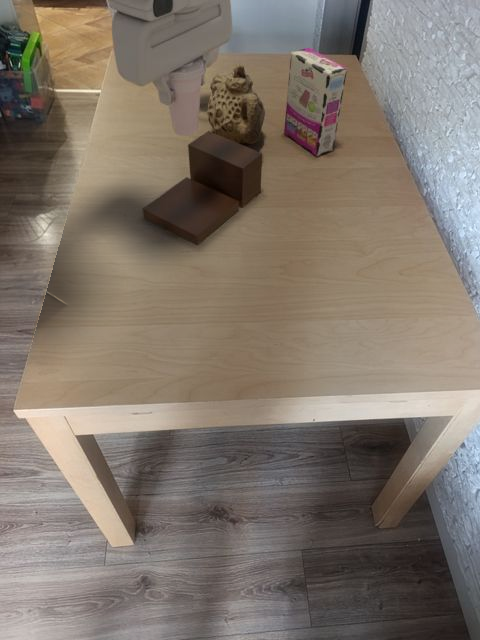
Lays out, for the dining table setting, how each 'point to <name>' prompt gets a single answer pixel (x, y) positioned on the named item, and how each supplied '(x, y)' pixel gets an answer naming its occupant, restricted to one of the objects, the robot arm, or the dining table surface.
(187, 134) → the smoothie
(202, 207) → the step shelf
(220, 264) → the dining table surface
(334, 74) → the candy bar box
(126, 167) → the dining table surface
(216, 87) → the teapot
